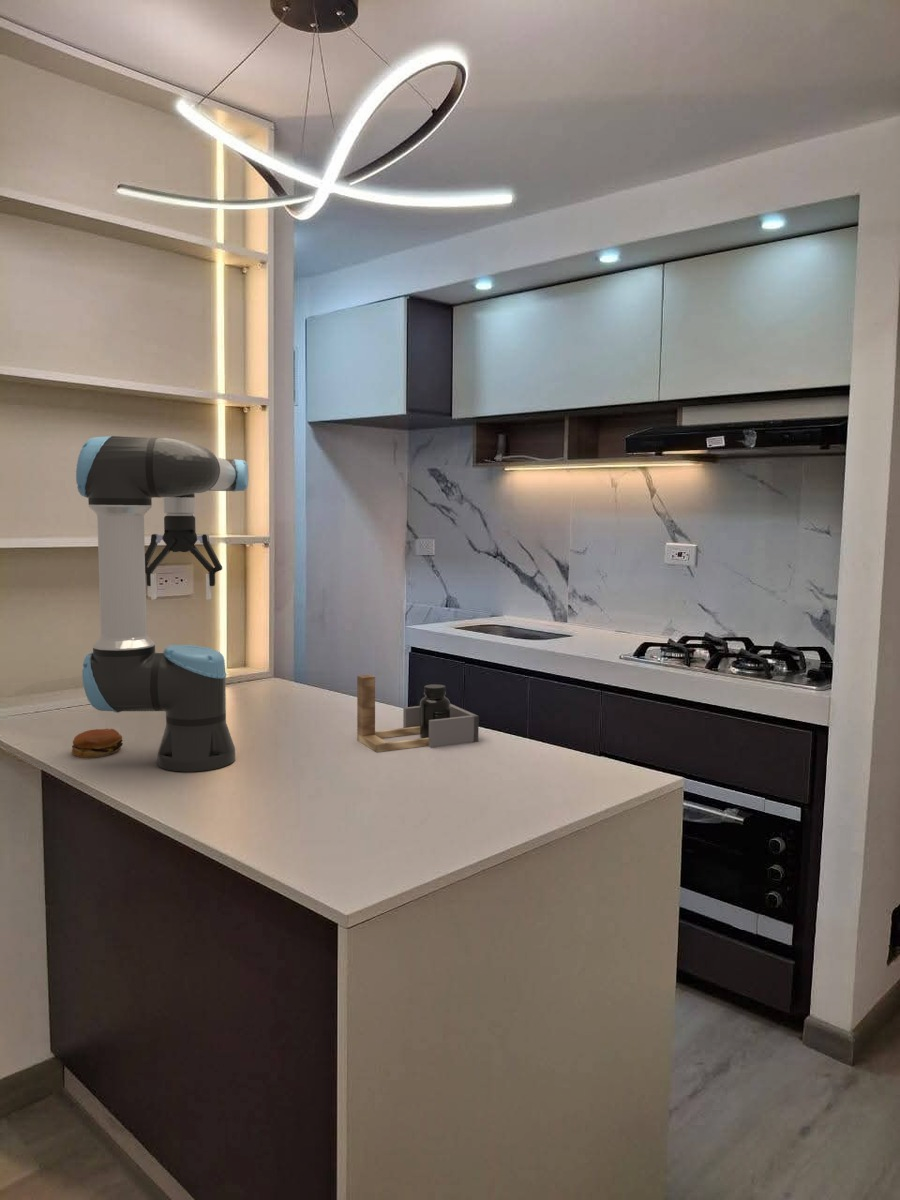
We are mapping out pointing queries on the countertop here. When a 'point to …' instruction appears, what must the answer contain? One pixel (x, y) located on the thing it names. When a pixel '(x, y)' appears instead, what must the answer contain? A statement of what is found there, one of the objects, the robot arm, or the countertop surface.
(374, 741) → the wooden corner frame
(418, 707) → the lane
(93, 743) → the burger
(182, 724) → the robot arm
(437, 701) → the supplement bottle
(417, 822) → the countertop surface
